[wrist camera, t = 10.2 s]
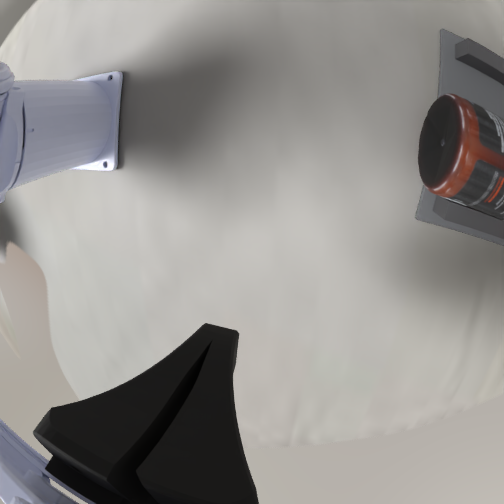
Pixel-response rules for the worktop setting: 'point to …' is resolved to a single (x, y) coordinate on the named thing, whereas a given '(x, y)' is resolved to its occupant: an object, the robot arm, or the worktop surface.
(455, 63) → the mat
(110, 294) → the worktop surface
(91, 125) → the robot arm
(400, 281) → the worktop surface
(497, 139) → the supplement bottle
